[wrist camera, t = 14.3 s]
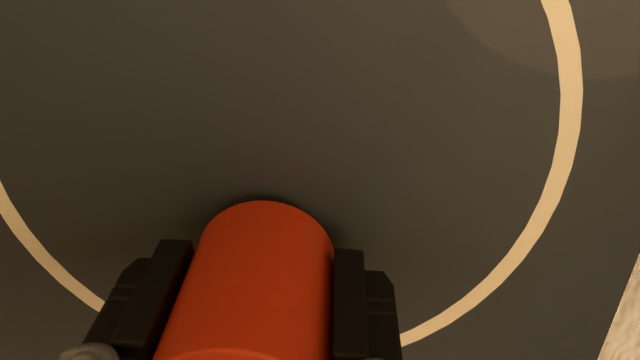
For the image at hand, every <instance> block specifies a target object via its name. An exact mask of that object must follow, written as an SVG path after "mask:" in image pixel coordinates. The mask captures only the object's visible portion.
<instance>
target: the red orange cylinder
mask: <svg viewBox="0 0 640 360" xmlns="http://www.w3.org/2000/svg"><path fill="white" fill-rule="evenodd" d="M333 271H334V249H333V246H332V243H331V240H330V238H329V237H328V235H327V233H326V232H325V230H324V229H323V228H322V226H321V225H320V224H319V223H318V222H317V221H316V220H315V219H313V218H312V217H311V216H310V215H308V214H307V213H305V212H303V211H302V210H300V209H298V208H296V207H293V206H291V205H288V204H285V203H280V202H276V201H267V200H257V201H249V202H244V203H240V204H237V205H234V206H232V207H230V208H228V209H226V210H224V211H222V212H221V213H220V214H218V215H217V216H216V217H214V218H213V219H212V220H211V221H210V223H209V224H208V225H207V227H206V228H205V230H204V232H203V234H202V236H201V238H200V241H199V243H198V246H197V248H196V251H195V253H194V256H193V258H192V261H191V263H190V266H189V268H188V271H187V273H186V276H185V278H184V281H183V283H182V286H181V288H180V291H179V293H178V296H177V298H176V301H175V303H174V306H173V308H172V311H171V313H170V316H169V318H168V321H167V323H166V326H165V328H164V331H163V333H162V336H161V338H160V341H159V343H158V346H157V348H156V351H155V353H154V356H153V358H152V360H331V351H332V311H333Z"/></svg>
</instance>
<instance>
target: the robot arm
mask: <svg viewBox="0 0 640 360" xmlns="http://www.w3.org/2000/svg"><path fill="white" fill-rule="evenodd" d="M193 256H194V246H193V242H192V241H191V240H175V239H161V240H160V242H159V243H158V245H157V247H156V249H155V251H154V253H153V255H152V257H151V258H137V259H136V260H135V261H134V262H133V263H131V264H130V265H129V266H128V267H126V268H125V269H124V270H123V271H122V273H121V275H120V276H119V278H118V280H117V282H116V283H115V287H114V288H113V289H112V291H111V292H110V294H109V296H108V300H106V301H105V303H104V305H103V306H102V308H101V310H100V312H99V314H98V315H97V317H96V319H95V321H94V322H93V324H92V326H91V328H90V329H89V331H88V333H87V335H86V337H85V338H84V340H83V342H82V344H80V345H76V346H74V347H71V348H69V349H67V350H65V351H64V352H62V353H61V354H59V355H58V356H57V357H56V358H55V359H54V360H152V358H153V356H154V353H155V351H156V348H157V346H158V343H159V341H160V338H161V336H162V333H163V331H164V328H165V326H166V323H167V321H168V318H169V316H170V313H171V311H172V308H173V306H174V303H175V301H176V298H177V296H178V293H179V291H180V288H181V286H182V283H183V281H184V278H185V276H186V273H187V271H188V268H189V266H190V263H191V261H192V258H193ZM331 360H403V357H402V349H401V341H400V333H399V325H398V317H397V309H396V304H395V293H394V285H393V284H392V282H391V281H390V280H389V278H388V277H387V275H386V274H385V273H384V271H372V270H365V269H364V252H363V250H356V249H338V248H335V251H334V271H333V311H332V351H331Z"/></svg>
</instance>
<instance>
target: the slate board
mask: <svg viewBox="0 0 640 360" xmlns="http://www.w3.org/2000/svg"><path fill="white" fill-rule="evenodd" d="M257 200H267V201H276V202H280V203H285V204H288V205H291V206H293V207H296V208H298V209H300V210H302V211H303V212H305V213H307V214H308V215H310V216H311V217H312V218H313V219H315V220H316V221H317V222H318V223H319V224H320V225H321V226H322V228H323V229H324V230H325V232H326V233H327V235H328V237H329V238H330V240H331V243H332V246H333V249H334V251H335V248H338V249H356V250H363V252H364V269H365V270H372V271H384V273H385V274H386V275H387V277H388V278H389V280H390V281H391V282H392V284H393V285H394V293H395V304H396V309H397V317H398V325H399V333H400V341H401V349H402V357H403V360H597V359H598V356H599V354H600V351H601V348H602V346H603V343H604V341H605V338H606V336H607V333H608V331H609V328H610V326H611V323H612V321H613V318H614V316H615V313H616V311H617V308H618V306H619V303H620V300H621V298H622V295H623V293H624V290H625V288H626V285H627V283H628V280H629V278H630V275H631V273H632V270H633V268H634V265H635V263H636V260H637V258H638V255H639V253H640V0H0V360H54V359H55V358H56V357H57V356H58V355H59V354H61V353H62V352H64V351H65V350H67V349H69V348H71V347H74V346H76V345H80V344H82V342H83V340H84V338H85V337H86V335H87V333H88V331H89V329H90V328H91V326H92V324H93V322H94V321H95V319H96V317H97V315H98V314H99V312H100V310H101V308H102V306H103V305H104V303H105V301H106V300H108V296H109V294H110V292H111V291H112V289H113V288H114V287H115V283H116V282H117V280H118V278H119V276H120V275H121V273H122V271H123V270H124V269H125V268H126V267H128V266H129V265H130V264H131V263H133V262H134V261H135V260H136V259H137V258H151V257H152V255H153V253H154V251H155V249H156V247H157V245H158V243H159V242H160V240H161V239H175V240H191V241H192V242H193V246H194V253H195V251H196V248H197V246H198V243H199V241H200V238H201V236H202V234H203V232H204V230H205V228H206V227H207V225H208V224H209V223H210V221H211V220H212V219H213V218H214V217H216V216H217V215H218V214H220V213H221V212H222V211H224V210H226V209H228V208H230V207H232V206H234V205H237V204H240V203H244V202H249V201H257Z"/></svg>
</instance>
